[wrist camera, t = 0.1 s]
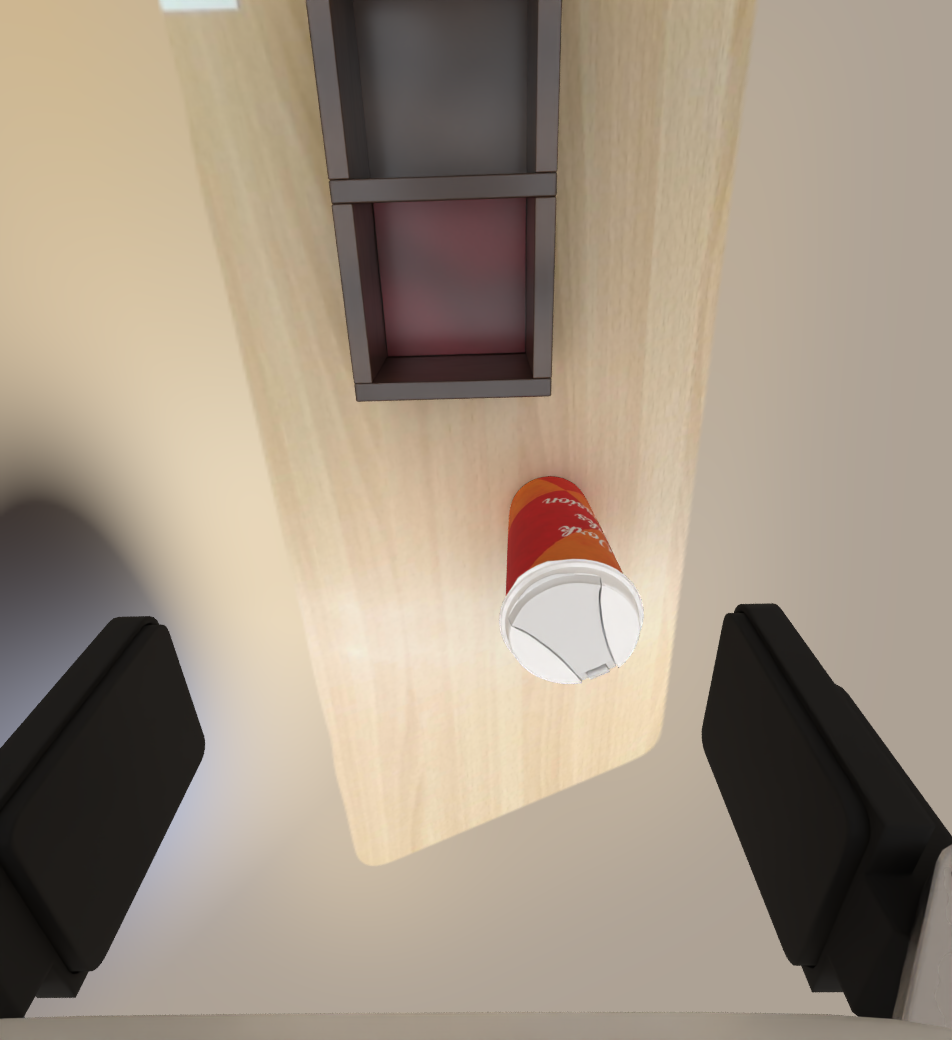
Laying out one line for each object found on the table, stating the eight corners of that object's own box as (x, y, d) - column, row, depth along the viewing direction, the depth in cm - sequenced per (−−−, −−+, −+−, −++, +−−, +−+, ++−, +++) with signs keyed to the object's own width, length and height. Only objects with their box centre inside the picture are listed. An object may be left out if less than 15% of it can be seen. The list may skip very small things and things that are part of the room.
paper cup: (619, 528, 45) (672, 657, 32) (526, 572, 47) (542, 710, 34) (572, 440, 42) (610, 546, 29) (474, 491, 43) (471, 611, 31)
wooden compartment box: (331, -42, 30) (292, -102, 24) (547, -51, 30) (565, -114, 24) (375, 368, 39) (356, 402, 33) (540, 364, 39) (551, 396, 33)
